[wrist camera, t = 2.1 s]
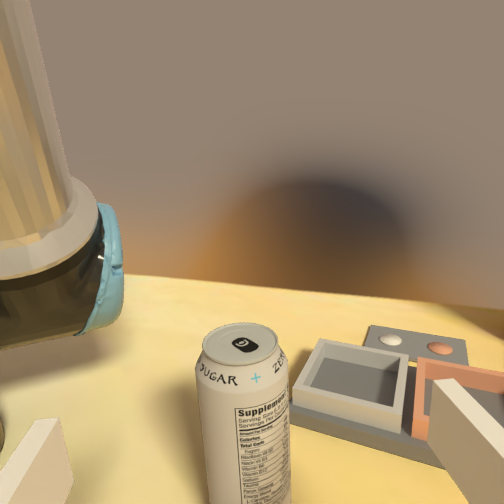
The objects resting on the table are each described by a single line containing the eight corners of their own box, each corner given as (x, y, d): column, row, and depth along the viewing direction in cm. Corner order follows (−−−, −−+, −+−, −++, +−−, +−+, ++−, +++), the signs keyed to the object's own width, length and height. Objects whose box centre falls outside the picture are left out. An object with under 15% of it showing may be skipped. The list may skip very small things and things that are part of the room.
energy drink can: (256, 467, 32) (247, 310, 27) (308, 519, 27) (307, 341, 23) (196, 512, 28) (175, 339, 24) (244, 580, 24) (229, 383, 19)
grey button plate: (362, 351, 48) (363, 347, 48) (371, 327, 54) (371, 323, 54) (468, 372, 43) (469, 367, 43) (464, 342, 49) (465, 338, 49)
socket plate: (285, 422, 37) (284, 392, 36) (318, 358, 47) (318, 333, 46) (561, 504, 27) (571, 467, 26) (527, 402, 38) (533, 373, 37)
